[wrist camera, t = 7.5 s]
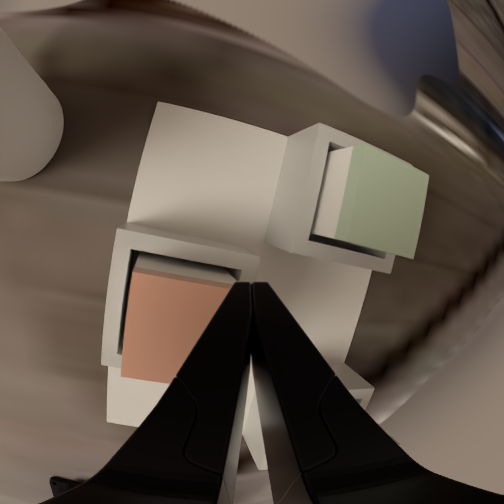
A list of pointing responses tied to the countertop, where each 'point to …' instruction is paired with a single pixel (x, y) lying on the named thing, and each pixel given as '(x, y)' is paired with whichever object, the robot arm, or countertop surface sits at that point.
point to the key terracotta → (168, 313)
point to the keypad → (239, 240)
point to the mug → (25, 117)
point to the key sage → (371, 200)
